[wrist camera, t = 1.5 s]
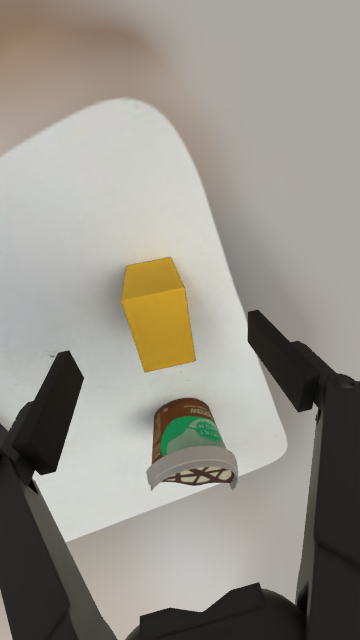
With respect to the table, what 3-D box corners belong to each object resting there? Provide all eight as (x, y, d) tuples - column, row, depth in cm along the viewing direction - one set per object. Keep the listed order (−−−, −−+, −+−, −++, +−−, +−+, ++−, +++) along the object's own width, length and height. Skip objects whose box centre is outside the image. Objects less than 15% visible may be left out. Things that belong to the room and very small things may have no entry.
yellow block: (126, 265, 22) (120, 300, 15) (171, 256, 22) (184, 287, 15) (143, 323, 26) (144, 372, 19) (181, 315, 26) (195, 361, 19)
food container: (231, 398, 35) (260, 465, 27) (214, 422, 38) (236, 491, 29) (157, 387, 31) (164, 461, 23) (144, 415, 34) (146, 490, 25)
